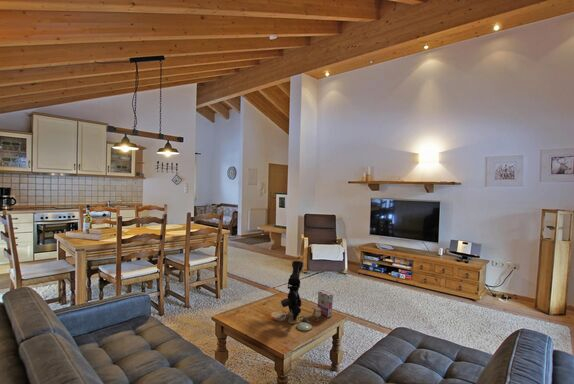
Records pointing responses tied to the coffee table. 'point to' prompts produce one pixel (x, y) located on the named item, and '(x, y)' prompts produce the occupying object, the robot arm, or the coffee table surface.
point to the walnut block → (291, 317)
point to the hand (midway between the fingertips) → (292, 317)
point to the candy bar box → (325, 303)
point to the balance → (304, 319)
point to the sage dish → (304, 326)
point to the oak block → (317, 311)
